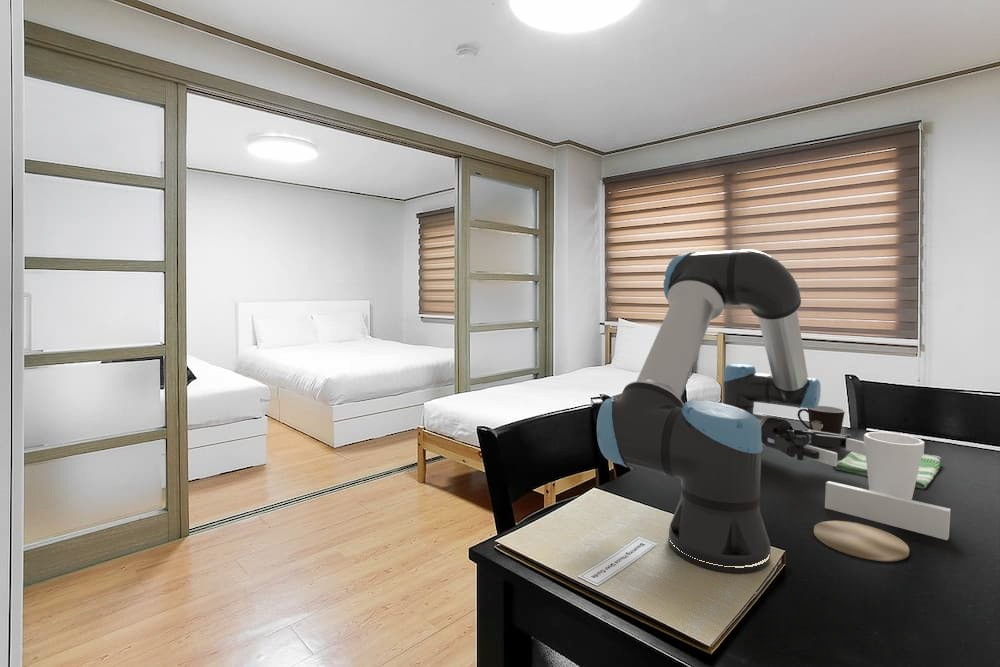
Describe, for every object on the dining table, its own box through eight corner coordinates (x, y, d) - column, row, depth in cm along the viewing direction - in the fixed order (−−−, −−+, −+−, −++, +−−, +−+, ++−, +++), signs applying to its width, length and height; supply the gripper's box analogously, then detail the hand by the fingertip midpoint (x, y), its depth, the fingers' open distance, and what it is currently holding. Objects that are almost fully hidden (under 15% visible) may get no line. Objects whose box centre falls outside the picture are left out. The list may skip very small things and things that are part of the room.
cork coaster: (900, 570, 76) (900, 566, 76) (803, 540, 85) (803, 536, 85) (915, 542, 85) (916, 538, 85) (826, 517, 94) (826, 514, 94)
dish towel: (829, 470, 122) (830, 459, 121) (857, 450, 137) (858, 440, 137) (925, 491, 108) (926, 478, 108) (944, 467, 123) (945, 456, 123)
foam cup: (866, 489, 108) (869, 429, 107) (923, 502, 101) (926, 438, 100) (856, 502, 101) (860, 438, 100) (916, 516, 95) (920, 448, 94)
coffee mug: (850, 449, 137) (852, 412, 136) (818, 449, 137) (819, 412, 136) (823, 437, 148) (825, 403, 147) (793, 437, 148) (795, 403, 148)
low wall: (947, 540, 85) (949, 511, 85) (824, 507, 98) (825, 482, 98) (948, 537, 86) (950, 508, 86) (827, 505, 100) (828, 480, 99)
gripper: (802, 440, 132) (892, 465, 112) (731, 452, 122) (816, 481, 103) (804, 412, 131) (894, 432, 112) (732, 421, 122) (818, 445, 102)
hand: (857, 455), depth 107 cm, fingers open, 13 cm apart
